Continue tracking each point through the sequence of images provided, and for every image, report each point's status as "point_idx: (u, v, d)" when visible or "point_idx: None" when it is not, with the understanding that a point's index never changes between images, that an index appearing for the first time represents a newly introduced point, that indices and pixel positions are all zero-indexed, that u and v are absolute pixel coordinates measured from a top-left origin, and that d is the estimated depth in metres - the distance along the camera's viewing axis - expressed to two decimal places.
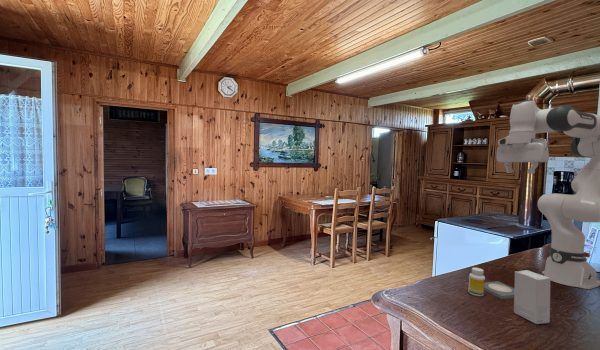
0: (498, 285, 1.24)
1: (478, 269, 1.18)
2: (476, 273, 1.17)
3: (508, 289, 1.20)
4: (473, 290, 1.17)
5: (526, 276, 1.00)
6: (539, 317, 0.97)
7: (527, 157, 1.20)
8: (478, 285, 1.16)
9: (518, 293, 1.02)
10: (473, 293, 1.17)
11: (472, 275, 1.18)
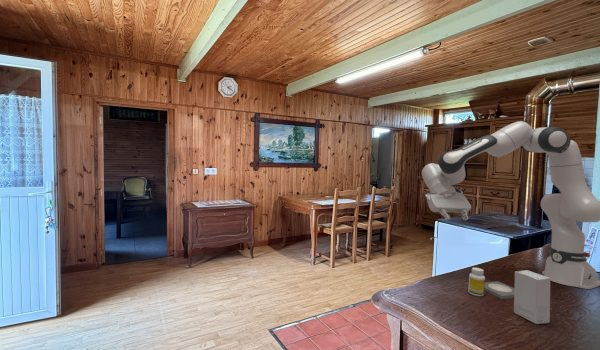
0: (498, 285, 1.24)
1: (478, 269, 1.18)
2: (476, 273, 1.17)
3: (508, 289, 1.20)
4: (473, 290, 1.17)
5: (526, 276, 1.00)
6: (539, 317, 0.97)
7: None
8: (478, 285, 1.16)
9: (518, 293, 1.02)
10: (473, 293, 1.17)
11: (472, 275, 1.18)
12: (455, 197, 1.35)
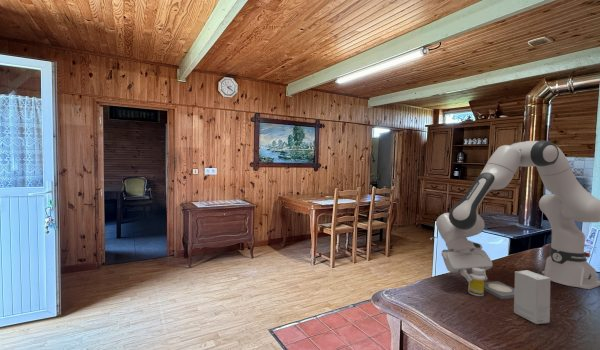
0: (498, 285, 1.24)
1: (478, 269, 1.18)
2: (476, 273, 1.17)
3: (508, 289, 1.20)
4: (473, 290, 1.17)
5: (526, 276, 1.00)
6: (539, 317, 0.97)
7: None
8: (478, 285, 1.16)
9: (518, 293, 1.02)
10: (473, 293, 1.17)
11: (472, 275, 1.18)
12: (474, 253, 1.24)
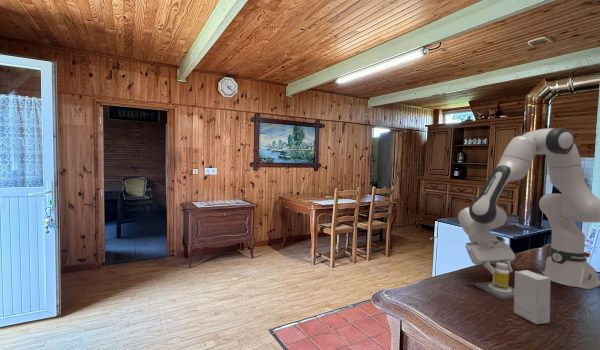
0: None
1: (502, 264, 1.21)
2: (500, 267, 1.20)
3: (508, 289, 1.20)
4: (497, 284, 1.20)
5: (526, 276, 1.00)
6: (539, 317, 0.97)
7: None
8: (503, 279, 1.19)
9: (518, 293, 1.02)
10: (497, 287, 1.20)
11: (496, 269, 1.21)
12: (497, 246, 1.27)
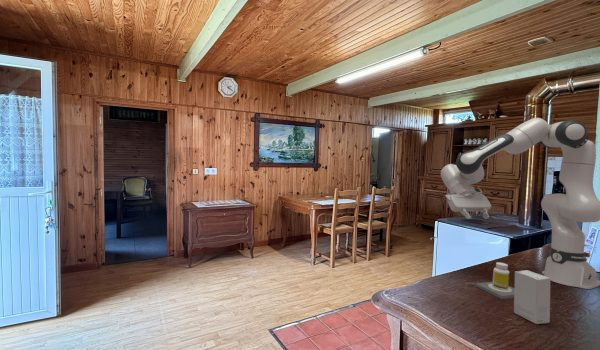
0: None
1: (502, 264, 1.21)
2: (501, 267, 1.20)
3: (508, 289, 1.20)
4: (497, 284, 1.20)
5: (526, 276, 1.00)
6: (539, 317, 0.97)
7: None
8: (503, 280, 1.19)
9: (518, 293, 1.02)
10: (498, 287, 1.20)
11: (496, 269, 1.21)
12: (475, 196, 1.39)
